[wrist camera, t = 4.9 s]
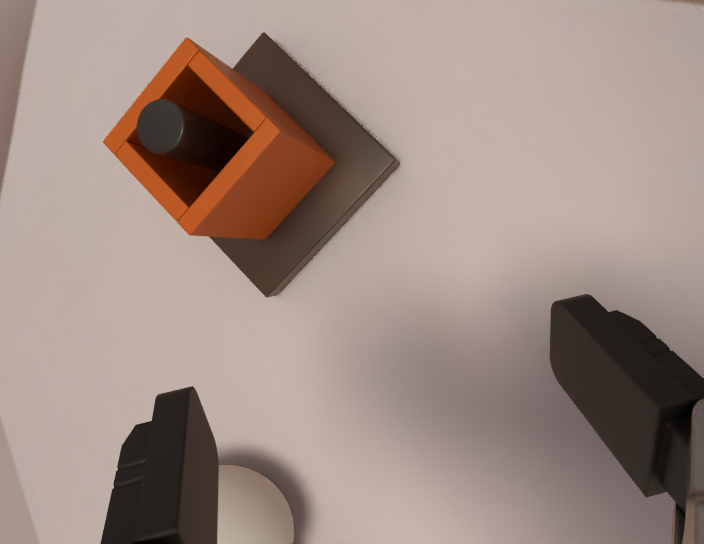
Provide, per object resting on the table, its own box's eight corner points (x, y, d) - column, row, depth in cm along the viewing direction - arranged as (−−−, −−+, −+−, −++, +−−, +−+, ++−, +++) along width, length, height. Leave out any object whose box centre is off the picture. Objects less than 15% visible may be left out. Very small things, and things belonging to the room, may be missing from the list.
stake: (273, 40, 32) (156, -71, 21) (400, 163, 31) (346, 113, 20) (161, 174, 34) (0, 136, 23) (276, 296, 33) (162, 318, 22)
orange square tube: (263, 90, 31) (186, 35, 23) (336, 162, 30) (280, 130, 22) (197, 168, 32) (101, 141, 24) (265, 239, 31) (189, 235, 23)
